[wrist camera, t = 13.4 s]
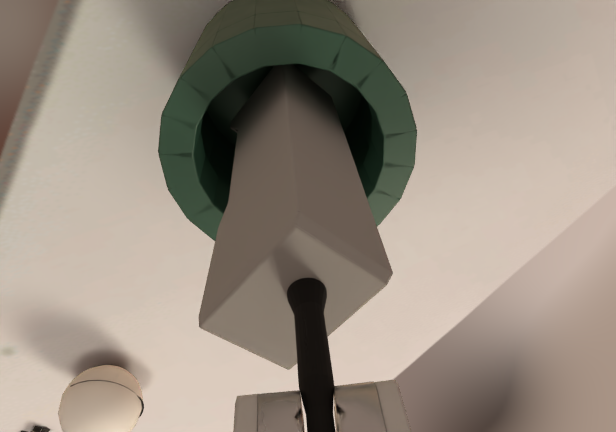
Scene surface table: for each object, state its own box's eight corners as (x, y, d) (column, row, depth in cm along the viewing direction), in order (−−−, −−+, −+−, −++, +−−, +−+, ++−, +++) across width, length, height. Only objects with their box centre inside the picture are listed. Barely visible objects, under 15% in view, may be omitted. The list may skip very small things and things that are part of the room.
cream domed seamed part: (131, 404, 50) (112, 472, 44) (62, 381, 47) (32, 451, 41) (176, 350, 46) (163, 417, 40) (104, 321, 43) (77, 389, 37)
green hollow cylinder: (175, -6, 29) (126, 38, 19) (370, -22, 29) (425, 13, 19) (210, 169, 35) (188, 270, 25) (368, 154, 36) (408, 248, 26)
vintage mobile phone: (230, 120, 28) (126, 724, 7) (281, 54, 26) (340, 616, 5) (279, 154, 30) (310, 737, 9) (331, 94, 28) (528, 657, 7)
